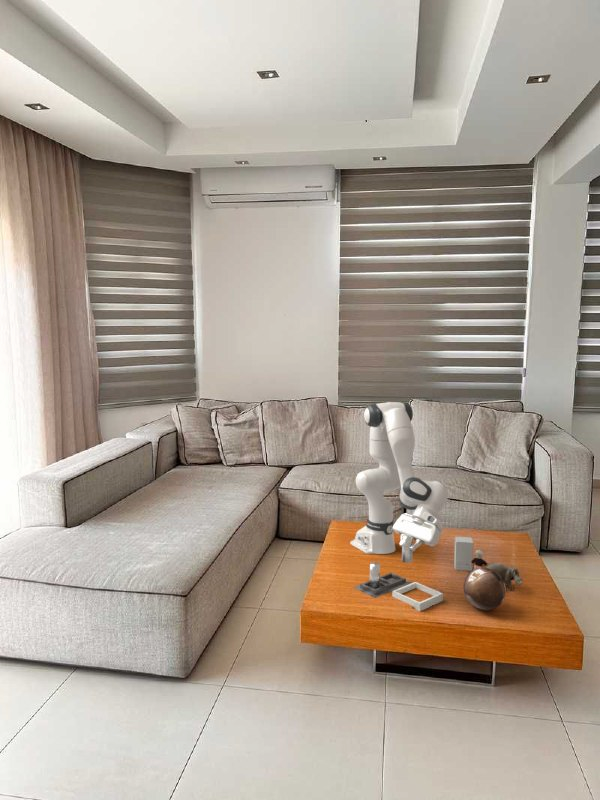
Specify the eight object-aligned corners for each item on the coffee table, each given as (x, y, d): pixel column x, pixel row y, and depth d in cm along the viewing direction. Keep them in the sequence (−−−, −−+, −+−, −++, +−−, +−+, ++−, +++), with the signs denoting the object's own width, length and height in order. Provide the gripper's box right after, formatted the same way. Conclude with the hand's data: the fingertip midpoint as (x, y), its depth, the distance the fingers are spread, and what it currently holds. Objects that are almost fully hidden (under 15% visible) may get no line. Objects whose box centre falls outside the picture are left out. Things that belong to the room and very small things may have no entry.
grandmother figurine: (468, 580, 248) (469, 550, 247) (469, 576, 252) (470, 547, 250) (487, 582, 246) (489, 553, 244) (488, 579, 249) (489, 549, 248)
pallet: (353, 589, 240) (353, 583, 239) (390, 575, 253) (390, 569, 253) (374, 600, 230) (375, 594, 230) (412, 584, 244) (412, 578, 244)
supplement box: (472, 571, 257) (473, 542, 256) (454, 569, 259) (455, 541, 257) (471, 564, 265) (472, 537, 263) (454, 563, 266) (454, 535, 265)
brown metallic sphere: (454, 606, 225) (455, 567, 224) (479, 595, 234) (480, 558, 233) (488, 621, 213) (490, 581, 212) (513, 609, 223) (514, 570, 221)
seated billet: (367, 588, 239) (367, 563, 238) (374, 585, 241) (374, 561, 240) (374, 591, 236) (375, 567, 235) (381, 588, 238) (382, 564, 237)
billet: (399, 560, 235) (400, 535, 234) (406, 557, 238) (407, 533, 237) (407, 563, 232) (408, 538, 231) (414, 561, 235) (415, 536, 234)
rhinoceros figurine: (484, 570, 252) (504, 548, 244) (510, 595, 246) (531, 574, 238) (475, 578, 246) (496, 555, 238) (502, 604, 240) (524, 582, 232)
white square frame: (392, 598, 232) (392, 591, 231) (415, 588, 240) (415, 581, 240) (419, 611, 221) (419, 603, 221) (442, 600, 230) (443, 593, 229)
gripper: (399, 507, 245) (382, 536, 240) (440, 521, 229) (423, 551, 225) (406, 516, 249) (390, 544, 244) (447, 529, 233) (430, 560, 228)
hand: (406, 547), depth 234 cm, fingers closed on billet, 4 cm apart
